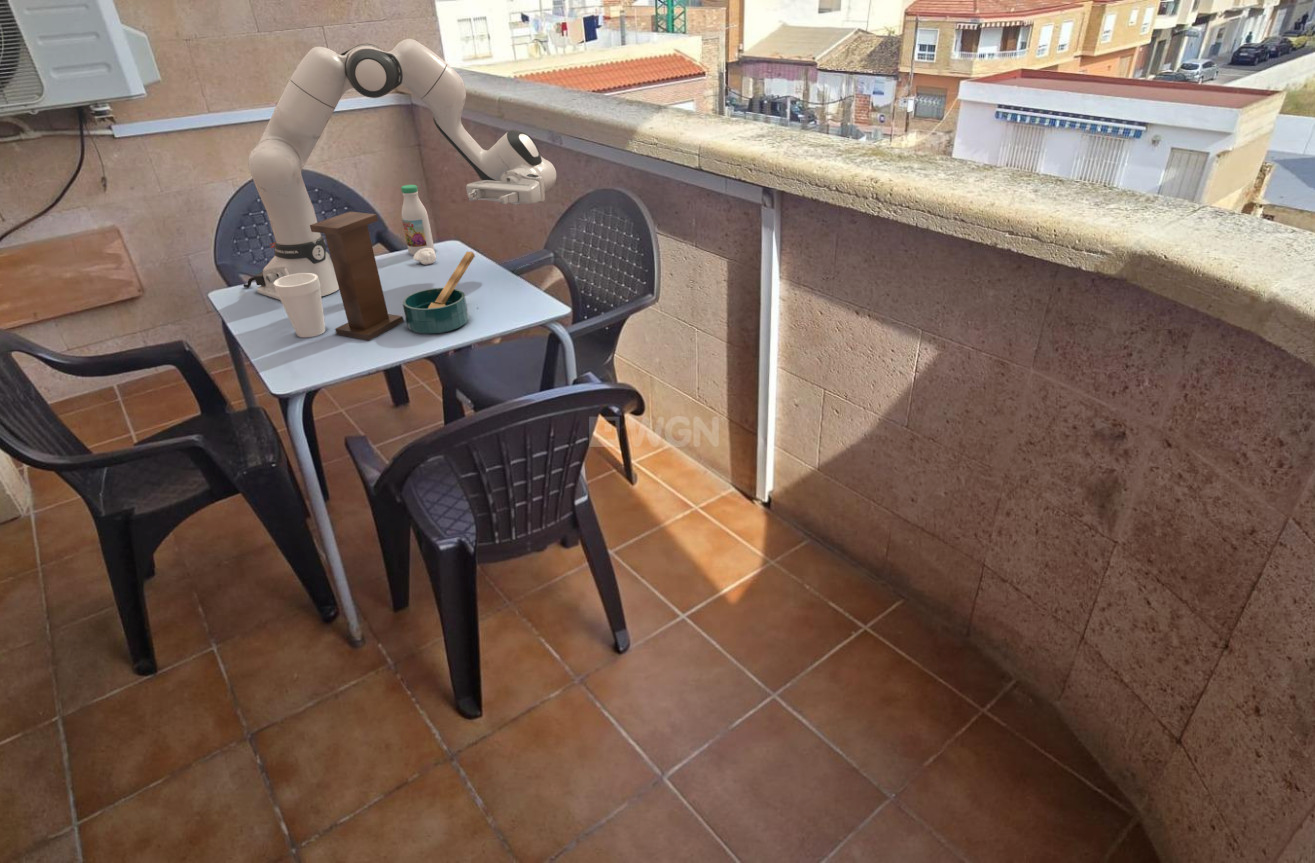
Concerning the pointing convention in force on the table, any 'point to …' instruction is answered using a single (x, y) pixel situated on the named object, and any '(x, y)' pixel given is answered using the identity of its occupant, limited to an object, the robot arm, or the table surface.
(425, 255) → the white lumpy piece
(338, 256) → the wooden pedestal
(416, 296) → the bowl
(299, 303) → the foam cup
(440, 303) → the spatula
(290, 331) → the table surface
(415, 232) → the milk bottle
